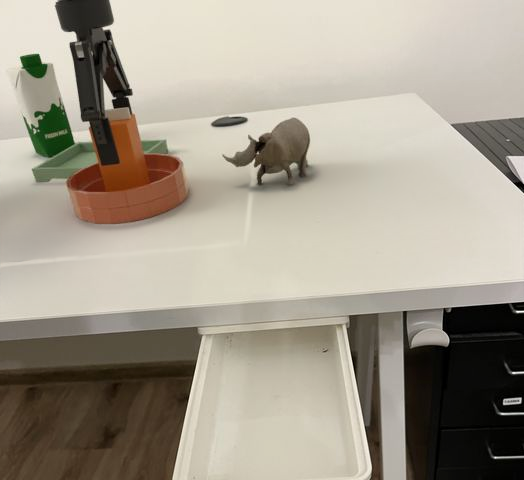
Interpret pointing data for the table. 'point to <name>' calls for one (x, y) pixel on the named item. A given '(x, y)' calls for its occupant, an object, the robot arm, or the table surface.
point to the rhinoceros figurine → (277, 150)
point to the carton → (124, 153)
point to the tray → (83, 159)
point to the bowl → (129, 192)
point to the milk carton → (41, 105)
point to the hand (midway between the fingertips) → (121, 151)
